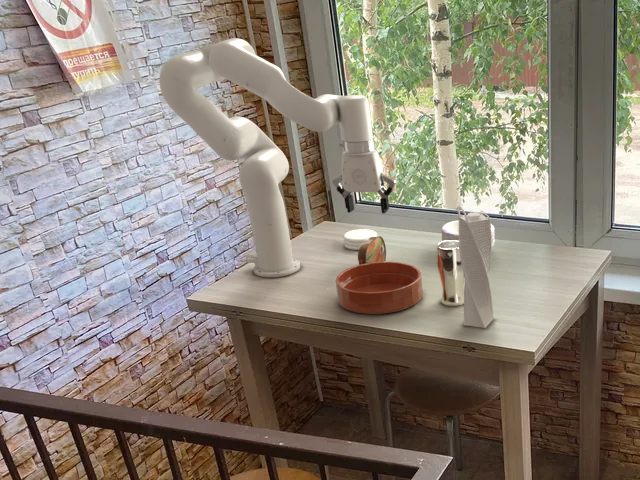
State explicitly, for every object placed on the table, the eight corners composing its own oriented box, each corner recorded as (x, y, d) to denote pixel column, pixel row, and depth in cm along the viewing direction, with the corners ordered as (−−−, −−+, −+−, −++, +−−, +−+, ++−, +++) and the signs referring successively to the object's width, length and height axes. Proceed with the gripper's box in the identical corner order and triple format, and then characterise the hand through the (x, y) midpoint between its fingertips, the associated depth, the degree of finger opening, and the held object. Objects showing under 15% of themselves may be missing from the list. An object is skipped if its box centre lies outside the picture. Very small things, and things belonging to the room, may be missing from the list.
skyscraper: (456, 326, 186) (449, 210, 172) (469, 313, 192) (463, 200, 178) (487, 330, 184) (482, 213, 170) (499, 318, 190) (495, 203, 176)
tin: (369, 280, 213) (366, 250, 209) (358, 279, 213) (354, 249, 209) (388, 260, 225) (385, 232, 221) (377, 260, 226) (374, 231, 222)
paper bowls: (505, 249, 231) (504, 223, 228) (475, 265, 220) (474, 238, 216) (462, 241, 239) (461, 215, 235) (432, 256, 228) (430, 229, 224)
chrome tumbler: (457, 309, 195) (453, 251, 187) (434, 303, 198) (430, 246, 191) (473, 299, 200) (470, 242, 192) (450, 294, 203) (447, 238, 196)
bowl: (325, 312, 194) (322, 290, 192) (357, 280, 212) (354, 259, 210) (407, 318, 191) (405, 295, 188) (432, 285, 209) (431, 263, 206)
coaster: (350, 239, 243) (349, 228, 241) (382, 239, 241) (380, 228, 239) (340, 250, 234) (338, 238, 232) (372, 251, 233) (371, 239, 231)
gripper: (322, 149, 201) (332, 215, 210) (386, 150, 198) (394, 216, 206) (333, 142, 208) (343, 206, 216) (396, 143, 204) (403, 208, 213)
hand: (368, 211), depth 211 cm, fingers open, 9 cm apart
